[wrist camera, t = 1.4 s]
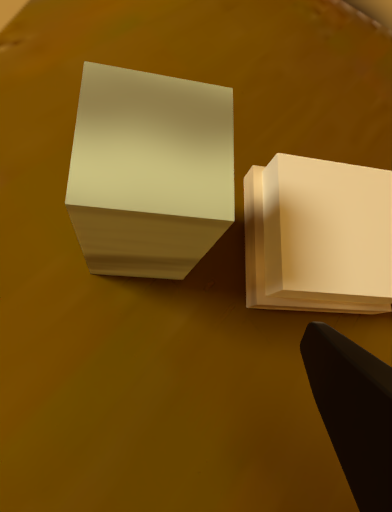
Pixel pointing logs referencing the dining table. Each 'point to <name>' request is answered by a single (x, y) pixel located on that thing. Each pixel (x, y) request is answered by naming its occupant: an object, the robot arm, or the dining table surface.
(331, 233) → the tower top slab
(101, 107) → the pillar block
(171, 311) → the dining table surface
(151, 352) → the dining table surface
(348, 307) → the tower base slab
